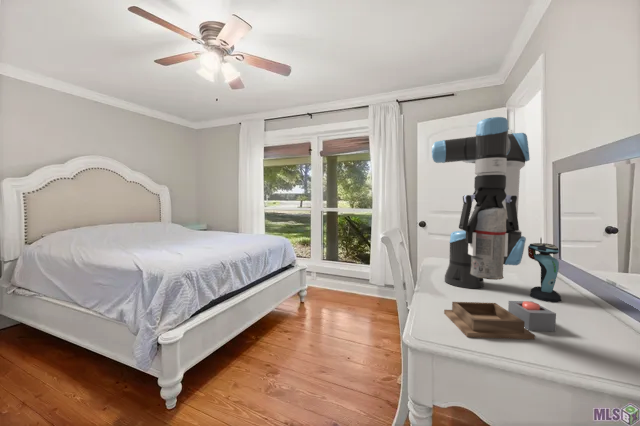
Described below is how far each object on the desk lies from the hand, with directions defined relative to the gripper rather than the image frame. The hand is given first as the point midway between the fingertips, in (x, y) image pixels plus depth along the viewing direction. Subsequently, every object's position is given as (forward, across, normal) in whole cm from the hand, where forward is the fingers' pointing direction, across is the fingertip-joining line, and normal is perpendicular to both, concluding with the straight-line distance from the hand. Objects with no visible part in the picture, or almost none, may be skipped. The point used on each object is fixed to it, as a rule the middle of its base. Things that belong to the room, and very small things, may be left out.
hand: (487, 255), depth 77 cm
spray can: (+6, 0, 0) cm, 6 cm away
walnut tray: (+20, 0, 0) cm, 20 cm away
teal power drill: (+21, +35, +26) cm, 48 cm away
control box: (+20, +14, +2) cm, 25 cm away
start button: (+17, +14, +2) cm, 22 cm away
